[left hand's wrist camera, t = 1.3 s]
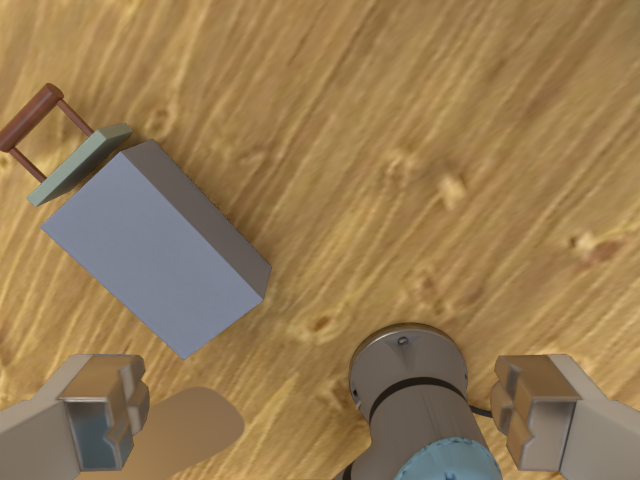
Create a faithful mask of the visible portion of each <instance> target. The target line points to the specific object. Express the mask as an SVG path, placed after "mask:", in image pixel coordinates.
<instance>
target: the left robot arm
mask: <svg viewBox="0 0 640 480" xmlns="http://www.w3.org/2000/svg"><path fill="white" fill-rule="evenodd" d="M145 371H146V370H145V365H144V360H143V358H142V357H141V356H140V355H110V354H97V355H95V354H75V355H71V356H69V357H68V358H67V360H66V361H65V362H64V363H63V364H62V365H61V366H60V367H59V369H58V370H57V371H56V372H55V373H54V374H53V375H52V376H51V377H50V379H49V380H48V381H47V382H46V383H45V384H44V385H43V386H42V388H41V389H40V390H39V391H38V392H37V393H36V394H35V395H34V396H33V398H32V399H31V400H22V401H20V402H18V403H16V404H14V405H12V406H10V407H8V408H6V409H4V410H2V411H0V480H74V479H75V478H76V477H77V476H78V475H80V472H86V471H121V470H122V468H123V466H124V464H125V462H126V460H127V458H128V457H129V455H130V453H131V451H132V449H133V447H134V443H133V436H134V435H135V434H137V433H138V432H140V431H141V430H142V428H143V426H144V424H145V422H146V420H147V416H148V411H149V402H150V396H149V389H148V387H147V386H146V385H145V384H144V383H143V381H142V380H141V378H142V377H143V375H144V373H145ZM494 371H495V373H496V375H497V377H498V378H499V380H498V381H497V383H496V384H495V385H494V386H493V387H492V389H491V398H490V403H491V413H492V416H493V419H494V422H495V424H496V426H497V429H498V430H499V431H500V432H502V433H503V434H504V435H506V436H507V443H506V447H507V449H508V451H509V453H510V455H511V456H512V458H513V460H514V462H515V464H516V466H517V468H518V470H519V471H553V472H560V474H561V475H562V476H563V477H564V478H565V479H567V480H640V411H638V410H636V409H634V408H632V407H630V406H628V405H626V404H624V403H622V402H620V401H618V400H609V399H608V398H607V396H606V395H605V394H604V393H603V392H602V391H601V390H600V389H599V388H598V386H597V385H596V384H595V383H594V382H593V381H592V380H591V379H590V377H589V376H588V375H587V374H586V373H585V372H584V371H583V370H582V369H581V367H580V366H579V365H578V364H577V363H576V362H575V361H574V360H573V358H572V357H571V356H569V355H567V354H545V355H513V356H498V358H497V361H496V364H495V370H494Z"/></svg>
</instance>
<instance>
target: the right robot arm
mask: <svg viewBox="0 0 640 480" xmlns="http://www.w3.org/2000/svg"><path fill="white" fill-rule="evenodd" d="M467 382H468V372H467V367H466V363H465V360H464V358H463V356H462V354H461V352H460V350H459V348H458V347H457V345H456V344H455V342H454V341H453V340H452V339H451V338H450V337H449V336H447V335H446V334H445V333H443V332H442V331H440V330H438V329H436V328H434V327H431V326H428V325H424V324H417V323H403V324H396V325H392V326H389V327H386V328H383V329H381V330H379V331H377V332H375V333H374V334H372V335H371V336H369V337H368V338H367V339H366V340H365V341H363V342H362V344H361V345H360V346H359V347H358V348H357V350H356V351H355V353H354V355H353V357H352V360H351V363H350V367H349V384H350V391H351V395H352V398H353V400H354V402H355V404H356V411H357V409H358V408H359V410H360V412H361V413H362V415H363V416H364V418H365V419H366V421H367V423H368V424H369V426H370V434H371V441H372V443H371V445H370V447H369V448H368V449H367V450H366V451H365V452H364V453H362V454H361V455H360V456H359V457H358V458H357V459H356V460H354V461H353V462H352V463H351V464H350V465H348V466H347V467H346V468H345V469H344V470H343V471H341V472H340V473H339V474H338V475H337V476H336V477H334V478H333V479H332V480H503V478H502V475H501V471H500V468H499V466H498V464H497V462H496V460H495V458H494V457H493V455H492V454H491V452H490V450H489V448H488V446H487V444H486V442H485V440H484V437H483V435H482V433H481V431H480V429H479V427H478V424H477V422H476V420H475V418H474V416H473V414H472V412H473V413H476V414H479V415H482V416H486V417H490V418H493V416H492V413H491V412H490V411H486V410H482V409H479V408H476V407H473V406H470V405H468V403H467V394H466V389H467Z"/></svg>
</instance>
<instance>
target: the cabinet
mask: <svg viewBox="0 0 640 480" xmlns="http://www.w3.org/2000/svg"><path fill="white" fill-rule="evenodd" d="M40 228H41V229H42V230H43V231H44V232H45V233H47V234H48V235H49V236H50V237H51V238H52V239H53V240H54V241H55V242H56V243H57V244H58V245H60V246H61V247H62V248H63V249H64V250H65V251H66V252H67V253H68V254H69V255H70V256H71V257H73V258H74V259H75V260H76V261H77V262H78V263H79V264H80V265H81V266H82V267H83V268H84V269H86V270H87V271H88V272H89V273H90V274H91V275H92V276H93V277H94V278H95V279H96V280H97V281H99V282H100V283H101V284H102V285H103V286H104V287H105V288H106V289H107V290H108V291H109V292H110V293H112V294H113V295H114V296H115V297H116V298H117V299H118V300H119V301H120V302H121V303H122V304H123V305H125V306H126V307H127V308H128V309H129V310H130V311H131V312H132V313H133V314H134V315H135V316H136V317H138V318H139V319H140V320H141V321H142V322H143V323H144V324H145V325H146V326H147V327H148V328H149V329H151V330H152V331H153V332H154V333H155V334H156V335H157V336H158V337H159V338H160V339H161V340H163V341H164V342H165V343H166V344H167V345H168V346H169V347H170V348H171V349H172V350H173V351H174V352H176V353H177V354H178V355H179V356H180V357H181V358H182V359H183V360H185V359H186V358H188V357H189V356H190V355H192V354H193V353H194V352H196V351H197V350H198V349H200V348H201V347H202V346H204V345H205V344H206V343H208V342H209V341H210V340H212V339H213V338H214V337H216V336H217V335H218V334H220V333H221V332H222V331H224V330H225V329H226V328H227V327H229V326H230V325H231V324H233V323H234V322H235V321H237V320H238V319H239V318H241V317H242V316H243V315H245V314H246V313H247V312H249V311H250V310H251V309H253V308H254V307H255V306H257V305H258V304H259V303H261V302H262V301H263V300H264V295H265V292H266V288H267V284H268V280H269V276H270V272H271V268H272V267H271V266H270V265H269V264H268V263H267V262H266V261H265V259H264V258H263V257H262V256H261V255H260V254H259V253H258V252H257V251H256V250H255V249H254V248H253V247H252V245H251V244H250V243H249V242H248V241H247V240H246V239H245V238H244V237H243V236H242V235H241V234H240V233H239V231H238V230H237V229H236V228H235V227H234V226H233V225H232V224H231V223H230V222H229V221H228V220H227V219H226V217H225V216H224V215H223V214H222V213H221V212H220V211H219V210H218V209H217V208H216V207H215V206H214V205H213V203H212V202H211V201H210V200H209V199H208V198H207V197H206V196H205V195H204V194H203V193H202V192H201V191H200V189H199V188H198V187H197V186H196V185H195V184H194V183H193V182H192V181H191V180H190V179H189V178H188V177H187V175H186V174H185V173H184V172H183V171H182V170H181V169H180V168H179V167H178V166H177V165H176V164H175V163H174V161H173V160H172V159H171V158H170V157H169V156H168V155H167V154H166V153H165V152H164V151H163V150H162V149H161V147H160V146H159V145H158V144H157V143H156V142H155V141H154V140H153V139H151V140H149V141H146V142H144V143H141V144H139V145H136V146H133V147H131V148H128V149H126V150H123V151H120V152H119V153H118V154H117V155H116V156H115V157H114V158H113V159H112V160H110V161H109V162H108V163H107V164H106V165H105V166H104V167H103V168H102V169H101V170H100V171H99V172H98V173H97V174H96V175H95V176H93V177H92V178H91V179H90V180H89V181H88V182H87V183H86V184H85V185H84V186H83V187H82V188H81V189H80V190H79V191H77V192H76V193H75V194H74V195H73V196H72V197H71V198H70V199H69V200H68V201H67V202H66V203H65V204H64V205H63V206H61V207H60V208H59V209H58V210H57V211H56V212H55V213H54V214H53V215H52V216H51V217H50V218H49V219H48V220H47V221H45V222H44V223H43V224H42V225H41V226H40Z"/></svg>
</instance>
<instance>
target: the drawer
mask: <svg viewBox="0 0 640 480" xmlns="http://www.w3.org/2000/svg"><path fill="white" fill-rule="evenodd" d="M63 98H64V95H63V93H62V92H61V90H60V89H59V88H57V87H56V86H55V85H53V84H51V83H46V85H45V86H44V87H43V88H42V89H41V90H40V91H39V92H38V93H37V94H36V95H35V96H34V97H33V98H32V99H31V100H30V101H29V102H28V103H27V104H26V105H25V106H24V107H23V108H22V109H21V111H20V112H19V113H18V114H17V115H16V116H15V117H14V118H13V119H12V120H11V121H10V122H9V123H8V124H7V125H6V126H5V127H4V128H3V129H2V130H1V131H0V150H1V151H3V152H6V153H10V154H11V155H12V156H13V157H14V158H15V159H16V160H17V161H19V162H20V163H21V164H22V165H23V166H24V167H25V168H26V169H27V170H28V171H29V172H30V173H31V174H32V175H33V176H34V177H35V178H36V179H37V180H38V181H39V182H40V183H41V184H40V185H39V186H38V187H37V188H36V189H35V190H34V191H33V192H32V193H31V194H30V195H29V196H28V197H27V200H28V201H29V202H31V203H32V204H33V205H34V206H35V207H37V206H39V205H42V204H44V203H46V202H48V201H50V200H52V199H54V198H57V197H59V196H61V195H63V194H65V193H67V192H69V191H71V190H72V189H73V188H74V187H75V186H76V185H77V184H78V183H79V182H80V181H81V180H82V179H83V178H85V177H86V176H87V175H88V174H89V173H90V172H91V171H92V170H93V169H94V168H95V167H96V166H97V165H98V164H99V163H100V162H101V161H103V160H104V159H105V158H106V157H107V156H108V155H109V154H110V153H111V152H112V151H113V150H114V149H115V148H116V147H117V146H118V145H120V144H121V143H122V142H123V141H124V140H125V139H126V138H127V137H128V136H129V135H130V134H131V133H132V132H133V130H132V129H131V128H130V127H129V126H128V125H127V124H126V123H122V124H118V125H114V126H110V127H106V128H102V129H98V130H96V131H95V132H94V131H93V130H92V129H91V128H90V127H89V126H88V125H87V124H86V123H85V122H84V121H83V120H82V119H81V118H80V117H79V115H78V114H77V113H76V112H75V111H74V110H73V109H72V108H71V107H70V106H69V105H68V104H67V103H66V102H65V101H64V100H62V99H63ZM56 105H58V106H59V107H60V108H61V109H62V110H63V111H64V112H65V113H66V114H67V115H68V116H69V117H70V118H71V119H72V121H73V122H74V123H75V124H76V125H77V126H78V127H79V128H80V129H81V130H82V131H83V132H84V133H85V134H86V135H87V136H88V137H89V138H88V139H87V140H86V141H85V142H84V143H83V144H82V145H81V146H80V147H79V148H78V149H77V150H75V151H74V152H73V153H72V154H71V155H70V156H69V157H68V158H67V159H66V160H65V161H64V162H63V163H62V164H61V165H60V166H59V167H58V168H57V169H56V170H55V171H54V172H53V173H52V174H51V175H50V176H49V177H48V178H47V177H46V176H45V175H44V174H43V173H42V172H41V171H40V170H38V169H37V168H36V167H35V166H34V165H33V164H32V163H31V162H30V161H29V160H28V159H27V158H26V157H25V156H24V155H23V154H22V153H21V152H20V151H19V150H18V149H17V148H15V147H16V146H17V145H18V144H19V143H20V142H21V141H22V140H23V138H24V137H25V136H26V135H27V134H28V133H29V132H30V131H31V130H32V129H33V128H34V127H35V126H36V125H37V124H38V123H39V122H40V121H41V120H42V119H43V118H44V117H45V116H46V115H47V114H48V113H49V112H50V111H51V110H52V109H53V108H54V107H55V106H56Z"/></svg>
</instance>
